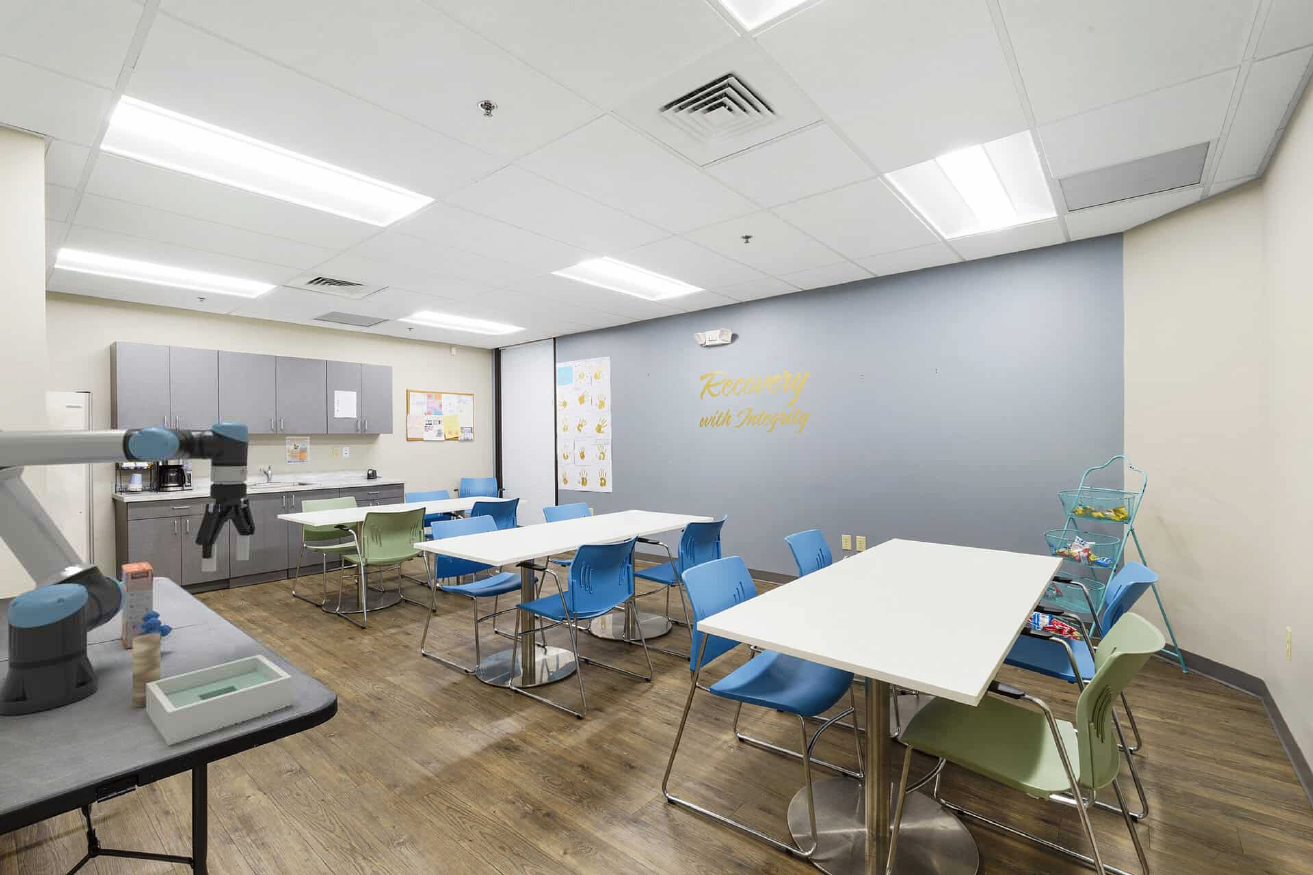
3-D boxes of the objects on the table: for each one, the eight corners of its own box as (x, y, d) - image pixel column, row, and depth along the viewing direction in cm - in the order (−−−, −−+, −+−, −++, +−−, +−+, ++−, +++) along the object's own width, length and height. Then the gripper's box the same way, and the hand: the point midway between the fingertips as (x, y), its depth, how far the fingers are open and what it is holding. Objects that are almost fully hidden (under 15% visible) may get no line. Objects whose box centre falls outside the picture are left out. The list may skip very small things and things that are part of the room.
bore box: (168, 745, 104) (168, 712, 104) (146, 712, 116) (146, 683, 116) (292, 705, 119) (292, 676, 119) (260, 680, 132) (260, 654, 132)
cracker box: (154, 644, 156) (154, 567, 156) (124, 650, 151) (124, 571, 152) (149, 632, 166) (149, 560, 166) (120, 637, 161) (120, 564, 161)
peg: (134, 709, 118) (134, 641, 118) (130, 703, 121) (130, 637, 121) (162, 701, 121) (162, 636, 121) (158, 695, 124) (157, 631, 124)
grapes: (176, 656, 146) (176, 610, 146) (141, 664, 141) (141, 616, 142) (169, 645, 154) (169, 601, 154) (135, 652, 149) (135, 607, 149)
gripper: (213, 486, 134) (210, 576, 134) (271, 479, 159) (269, 555, 159) (178, 486, 133) (175, 576, 133) (242, 479, 158) (240, 555, 158)
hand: (226, 565), depth 146 cm, fingers open, 13 cm apart
